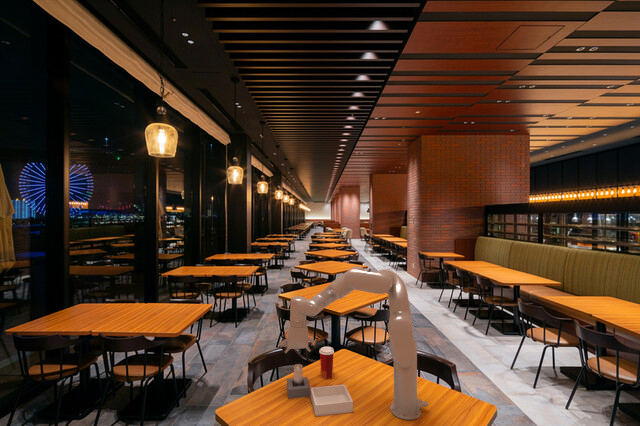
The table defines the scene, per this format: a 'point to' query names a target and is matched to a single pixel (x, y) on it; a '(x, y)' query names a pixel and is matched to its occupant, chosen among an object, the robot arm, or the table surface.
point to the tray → (331, 400)
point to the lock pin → (297, 375)
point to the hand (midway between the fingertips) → (297, 359)
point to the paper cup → (326, 362)
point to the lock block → (298, 388)
